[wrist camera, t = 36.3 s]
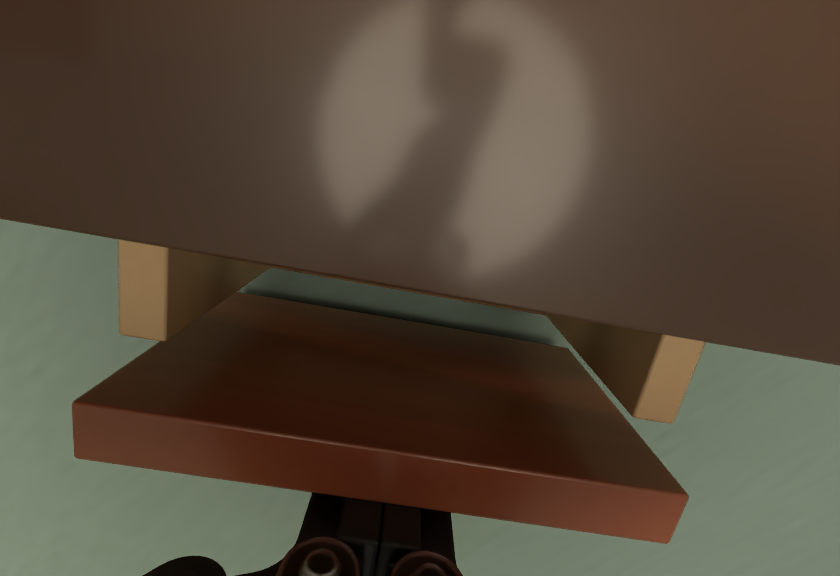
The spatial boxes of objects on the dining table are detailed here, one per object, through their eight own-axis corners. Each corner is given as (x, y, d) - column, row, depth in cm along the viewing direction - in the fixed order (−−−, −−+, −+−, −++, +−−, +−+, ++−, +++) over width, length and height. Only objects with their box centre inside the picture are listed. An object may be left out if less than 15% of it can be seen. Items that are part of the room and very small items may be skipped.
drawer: (529, 475, 16) (606, 689, 9) (223, 428, 15) (80, 624, 9) (726, -171, 11) (1217, -701, 4) (269, -284, 10) (-9, -1131, 3)
